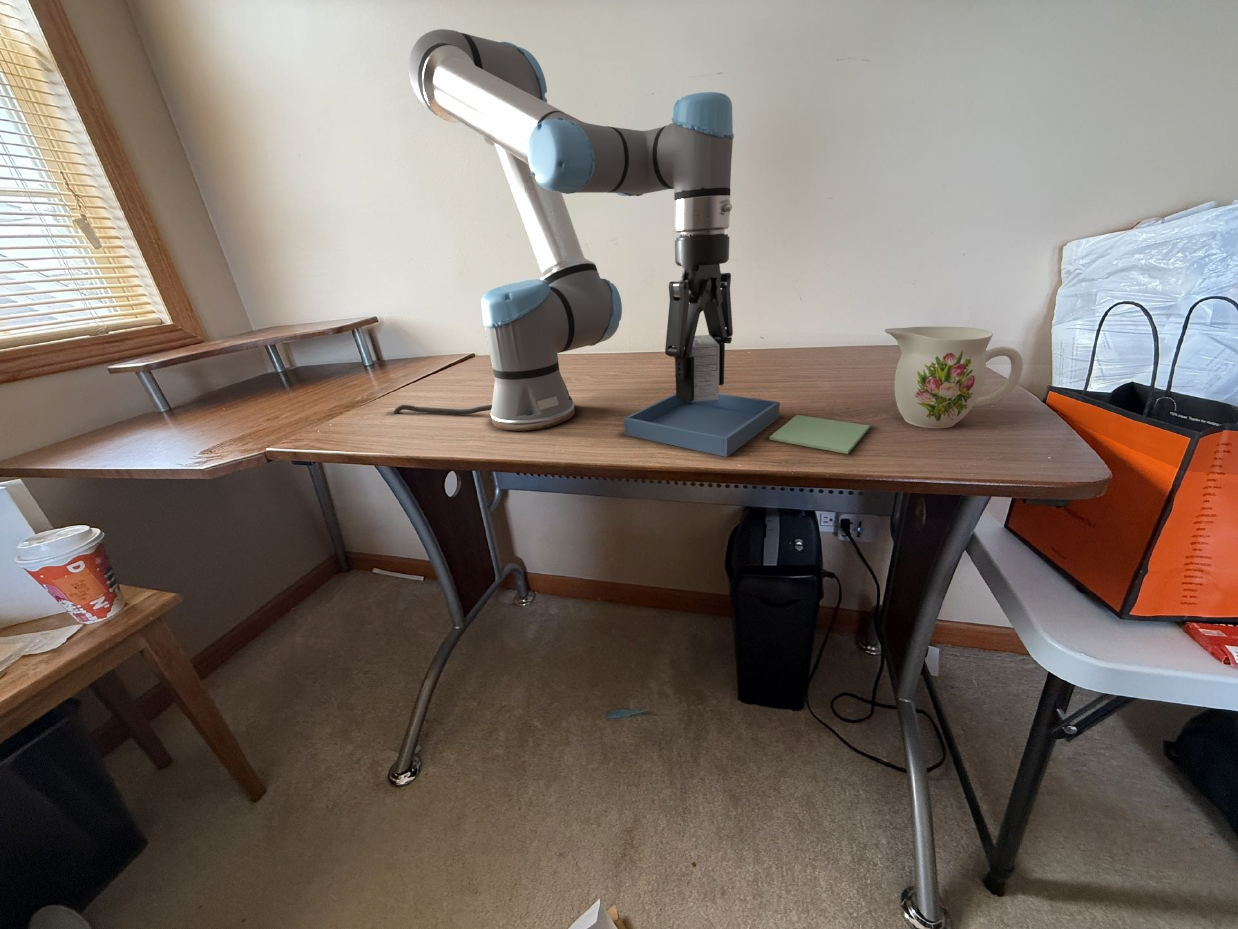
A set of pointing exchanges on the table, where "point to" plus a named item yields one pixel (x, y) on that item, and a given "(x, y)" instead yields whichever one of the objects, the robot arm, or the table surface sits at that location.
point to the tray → (703, 422)
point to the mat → (821, 433)
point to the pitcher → (946, 373)
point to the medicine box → (705, 368)
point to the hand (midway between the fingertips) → (700, 391)
